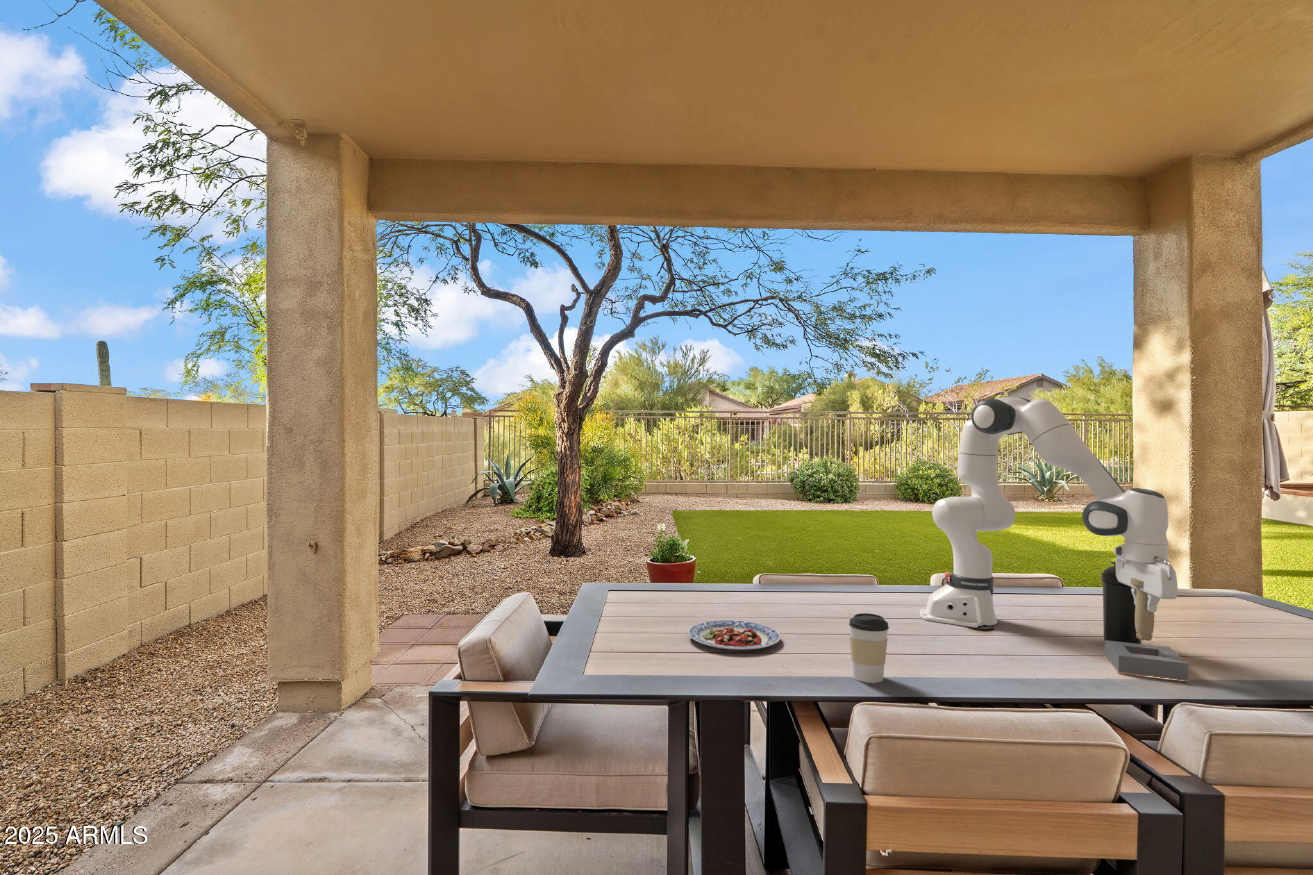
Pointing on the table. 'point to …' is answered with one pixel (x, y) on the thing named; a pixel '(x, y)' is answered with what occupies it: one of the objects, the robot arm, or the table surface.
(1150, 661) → the socket block
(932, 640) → the table surface
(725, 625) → the ceramic plate
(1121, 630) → the water bottle
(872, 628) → the coffee cup
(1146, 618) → the handle
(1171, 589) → the robot arm
